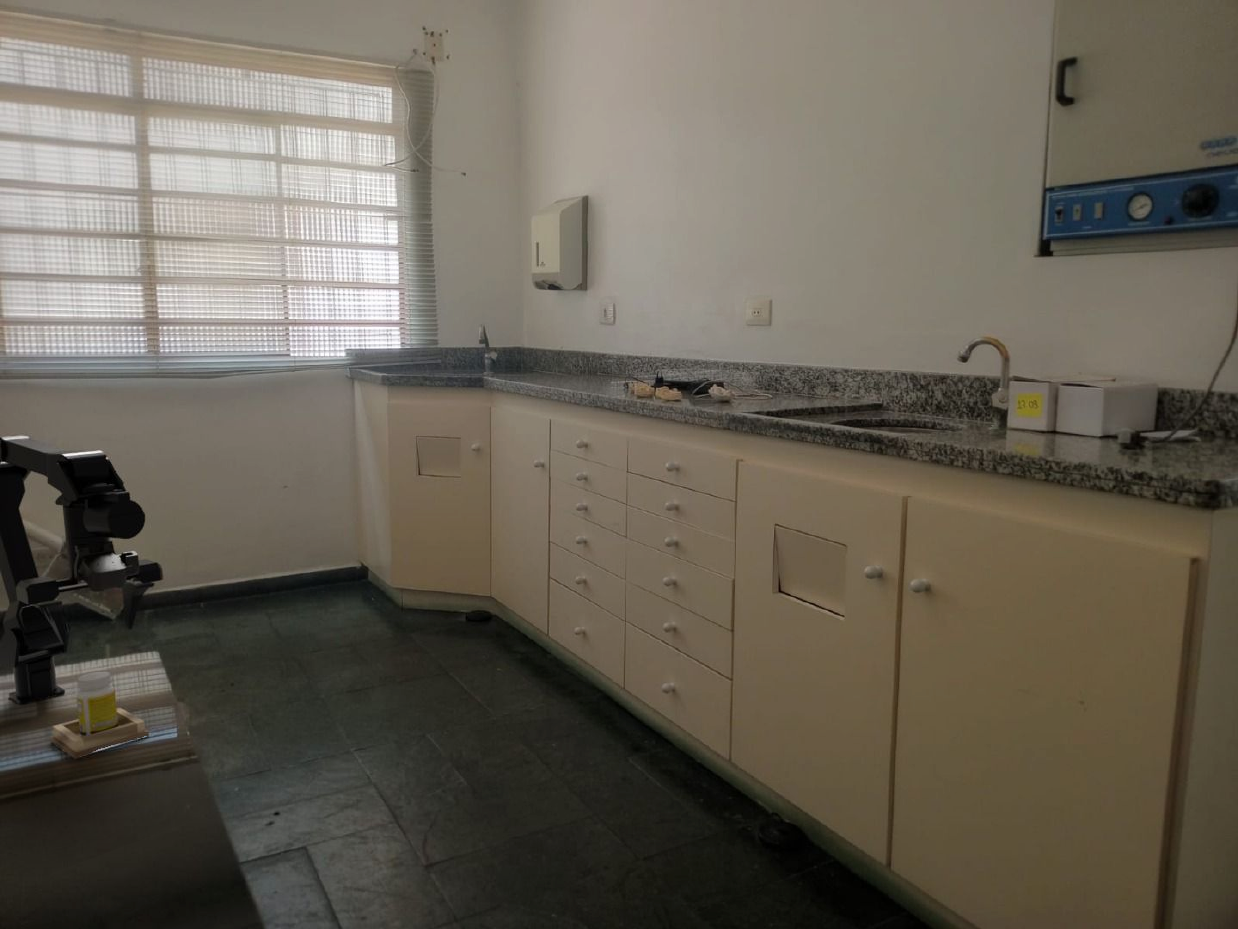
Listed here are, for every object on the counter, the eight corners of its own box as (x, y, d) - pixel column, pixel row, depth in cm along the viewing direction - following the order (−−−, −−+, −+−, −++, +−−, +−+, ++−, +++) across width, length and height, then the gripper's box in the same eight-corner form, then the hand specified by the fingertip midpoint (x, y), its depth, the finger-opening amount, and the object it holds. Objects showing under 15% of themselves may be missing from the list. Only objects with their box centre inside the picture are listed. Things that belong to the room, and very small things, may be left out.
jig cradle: (51, 742, 134) (49, 726, 134) (122, 721, 141) (121, 706, 141) (75, 759, 128) (73, 742, 128) (148, 736, 135) (147, 721, 135)
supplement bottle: (126, 727, 137) (120, 670, 136) (104, 740, 132) (98, 681, 131) (95, 727, 137) (89, 670, 137) (72, 739, 133) (66, 681, 132)
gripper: (35, 551, 130) (46, 662, 132) (173, 530, 144) (182, 630, 145) (10, 543, 138) (21, 648, 139) (143, 523, 151) (152, 619, 153)
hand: (97, 636), depth 144 cm, fingers open, 9 cm apart
